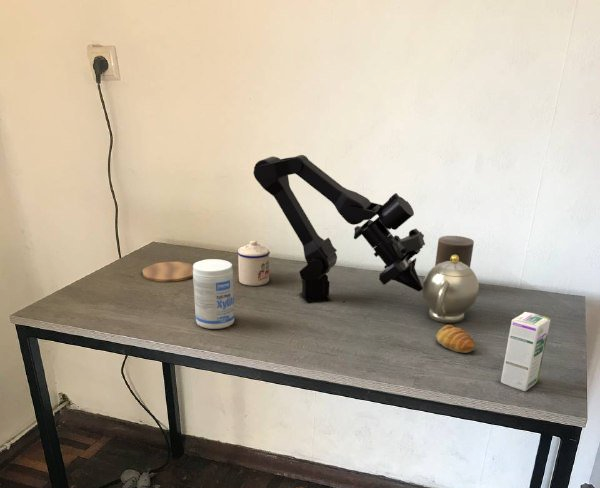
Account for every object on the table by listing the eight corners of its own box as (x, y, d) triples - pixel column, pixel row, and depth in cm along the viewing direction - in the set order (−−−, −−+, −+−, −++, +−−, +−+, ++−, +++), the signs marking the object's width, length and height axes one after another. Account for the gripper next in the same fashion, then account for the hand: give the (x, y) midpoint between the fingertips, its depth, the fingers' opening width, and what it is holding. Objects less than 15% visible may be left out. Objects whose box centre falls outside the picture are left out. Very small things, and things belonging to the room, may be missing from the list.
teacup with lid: (263, 288, 178) (263, 247, 172) (233, 284, 180) (232, 243, 175) (277, 274, 188) (277, 235, 182) (248, 271, 190) (247, 232, 185)
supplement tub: (225, 332, 152) (222, 273, 144) (189, 327, 154) (184, 268, 147) (240, 318, 160) (239, 260, 152) (206, 313, 162) (202, 256, 155)
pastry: (481, 350, 146) (484, 335, 144) (459, 357, 142) (462, 342, 141) (453, 336, 152) (455, 321, 150) (431, 342, 149) (433, 327, 147)
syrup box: (525, 392, 129) (540, 326, 122) (498, 382, 132) (511, 318, 125) (537, 382, 133) (552, 318, 125) (511, 373, 136) (524, 310, 129)
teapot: (428, 303, 171) (435, 243, 162) (478, 312, 166) (489, 250, 157) (408, 327, 156) (415, 262, 148) (463, 338, 151) (474, 271, 143)
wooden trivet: (145, 284, 179) (145, 281, 179) (140, 266, 193) (140, 263, 192) (201, 279, 184) (201, 276, 183) (193, 262, 197) (193, 259, 196)
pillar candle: (445, 295, 176) (452, 241, 168) (425, 284, 184) (432, 232, 176) (474, 291, 179) (482, 238, 172) (453, 280, 187) (461, 229, 180)
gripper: (396, 230, 146) (438, 283, 148) (416, 212, 161) (454, 260, 163) (361, 259, 152) (402, 309, 154) (383, 239, 167) (420, 285, 169)
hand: (421, 290), depth 160 cm, fingers closed
